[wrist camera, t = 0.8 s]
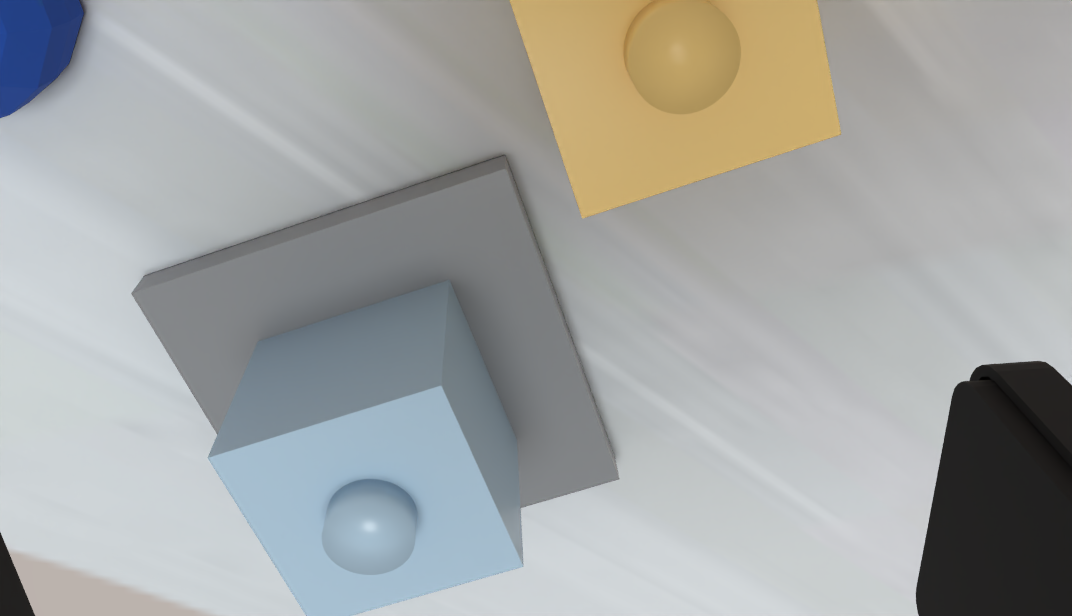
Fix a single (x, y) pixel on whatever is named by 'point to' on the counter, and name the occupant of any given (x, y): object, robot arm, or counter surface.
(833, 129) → the ochre brick
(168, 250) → the counter surface
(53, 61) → the toy
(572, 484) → the baseplate
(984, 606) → the robot arm
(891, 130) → the counter surface
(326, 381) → the blue brick
